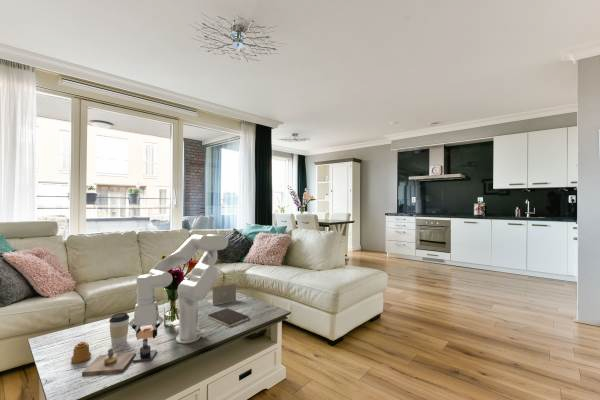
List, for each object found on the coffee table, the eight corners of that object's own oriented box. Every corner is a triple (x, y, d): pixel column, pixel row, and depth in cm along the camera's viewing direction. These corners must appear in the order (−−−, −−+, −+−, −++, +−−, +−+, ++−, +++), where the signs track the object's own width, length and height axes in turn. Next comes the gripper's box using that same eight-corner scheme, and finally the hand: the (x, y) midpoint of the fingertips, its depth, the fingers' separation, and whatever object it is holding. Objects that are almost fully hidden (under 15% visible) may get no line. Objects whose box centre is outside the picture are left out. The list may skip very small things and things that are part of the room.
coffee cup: (106, 348, 146) (106, 318, 146) (112, 339, 155) (112, 312, 155) (126, 345, 149) (126, 316, 149) (131, 337, 157) (131, 310, 157)
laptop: (229, 296, 228) (229, 280, 228) (235, 300, 218) (236, 283, 218) (206, 301, 217) (206, 283, 217) (212, 305, 207) (212, 287, 207)
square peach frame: (156, 331, 142) (156, 326, 142) (151, 337, 136) (151, 332, 136) (142, 332, 141) (142, 327, 141) (137, 339, 135) (136, 333, 135)
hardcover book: (228, 328, 171) (228, 324, 171) (207, 318, 186) (207, 314, 186) (249, 319, 183) (249, 316, 183) (227, 311, 198) (228, 307, 198)
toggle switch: (135, 355, 139) (135, 340, 139) (122, 372, 125) (122, 355, 125) (99, 358, 137) (99, 342, 137) (81, 375, 123) (82, 358, 123)
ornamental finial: (67, 362, 133) (84, 354, 140) (77, 365, 131) (94, 357, 138) (67, 344, 133) (84, 337, 140) (77, 347, 131) (94, 340, 138)
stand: (156, 352, 142) (157, 334, 142) (151, 360, 134) (151, 342, 134) (139, 353, 141) (139, 335, 141) (132, 362, 133) (132, 343, 133)
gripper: (167, 296, 143) (168, 332, 143) (130, 299, 141) (131, 335, 141) (162, 302, 136) (163, 339, 136) (123, 304, 133) (124, 343, 133)
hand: (146, 337), depth 138 cm, fingers closed on square peach frame, 6 cm apart
